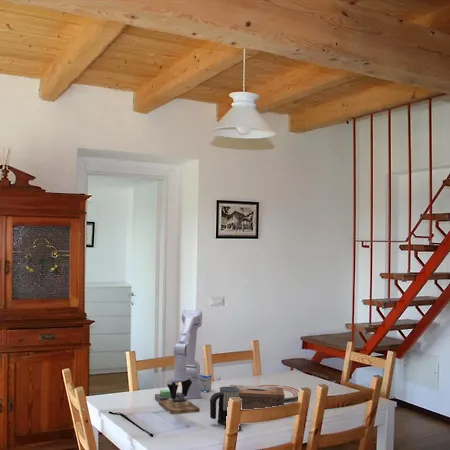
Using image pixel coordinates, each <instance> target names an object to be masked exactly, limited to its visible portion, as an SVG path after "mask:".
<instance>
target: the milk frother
mask: <svg viewBox="0 0 450 450" xmlns="http://www.w3.org/2000/svg"><path fill="white" fill-rule="evenodd" d="M239 390H240V389H239V388H236V387H230V386H221V387H219V391H218V392H215V393H213V394H212V395H211V397H210V398H209V399H210V400H209V415H210V416H209V418H210V419H211V420H216V418H217V423H218V424H220V425H224V426H226V425H225V424H226V416H227V407H228V401H229V398H230V397H239ZM217 401H218V413H217ZM241 426H242V425H241ZM241 426H239V429H242V427H241Z"/></svg>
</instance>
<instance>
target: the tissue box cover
mask: <svg viewBox="0 0 450 450" xmlns="http://www.w3.org/2000/svg"><path fill="white" fill-rule="evenodd" d="M229 387H236V388H239V389H240V390H239V397H240V398H241V399H242V409H254V408H265V407H272V406H279V405H284V406H285V400H284V396H285V395H284V391H283V388H278V387H260V386H257V385H241V384H239V385H237V384H229Z"/></svg>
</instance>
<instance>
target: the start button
mask: <svg viewBox="0 0 450 450" xmlns="http://www.w3.org/2000/svg"><path fill="white" fill-rule="evenodd" d="M159 394H160V396H162V397H170V390H169V389H160V393H159Z"/></svg>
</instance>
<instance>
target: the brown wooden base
mask: <svg viewBox="0 0 450 450" xmlns="http://www.w3.org/2000/svg"><path fill="white" fill-rule="evenodd" d="M158 405H159V406H160V407H162V408H163V409H164V410H165V411H166V412H168V411H169V412H170V413H172V414H171V415H177V414H189V413H200V408H199V407H198V406H196V405H195V404H193V403H192V402H191V401H190V400H188V399H185V398H184V402H173V401H172V399H168V400H163V401H159V402H158ZM169 412H168V413H169ZM170 413H169V414H170Z"/></svg>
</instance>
